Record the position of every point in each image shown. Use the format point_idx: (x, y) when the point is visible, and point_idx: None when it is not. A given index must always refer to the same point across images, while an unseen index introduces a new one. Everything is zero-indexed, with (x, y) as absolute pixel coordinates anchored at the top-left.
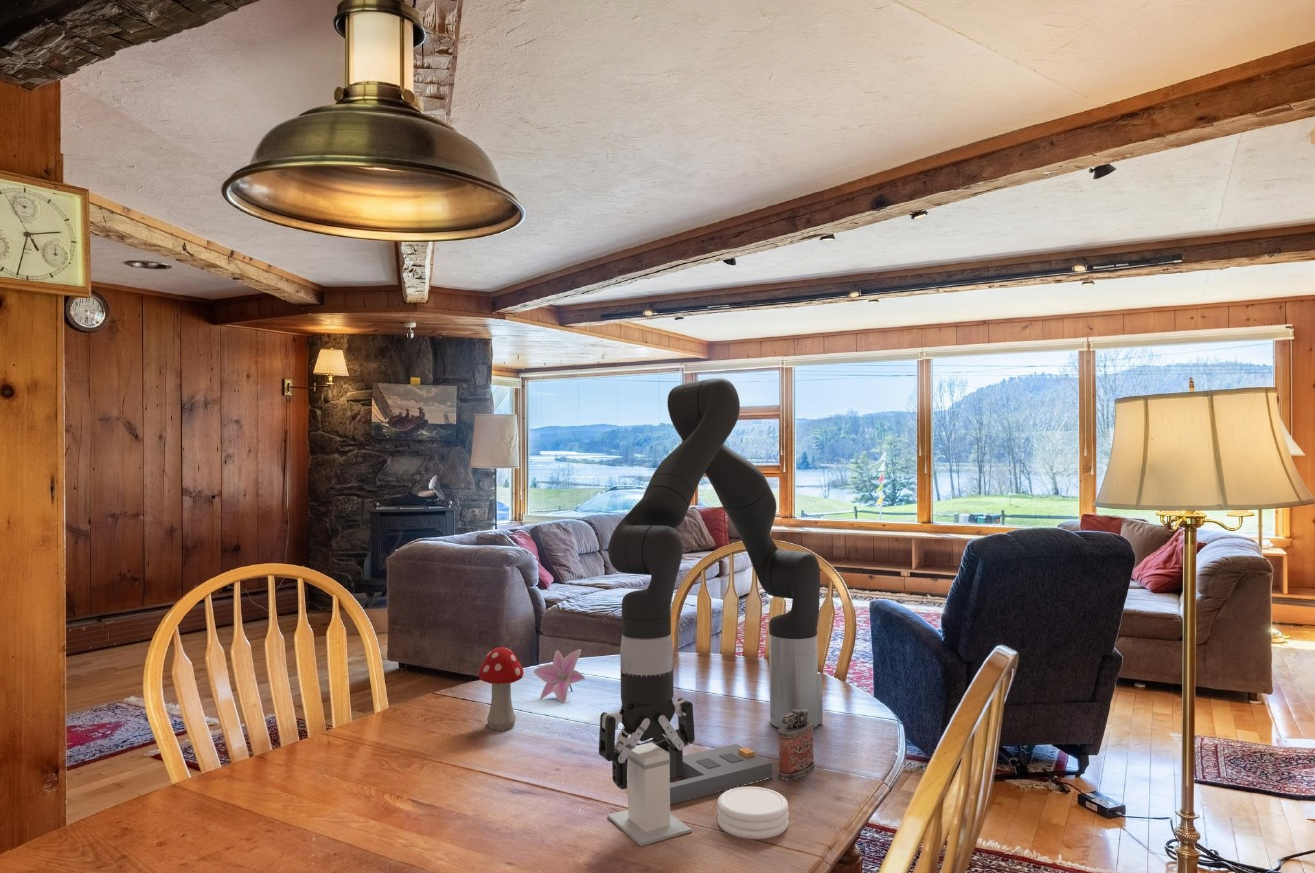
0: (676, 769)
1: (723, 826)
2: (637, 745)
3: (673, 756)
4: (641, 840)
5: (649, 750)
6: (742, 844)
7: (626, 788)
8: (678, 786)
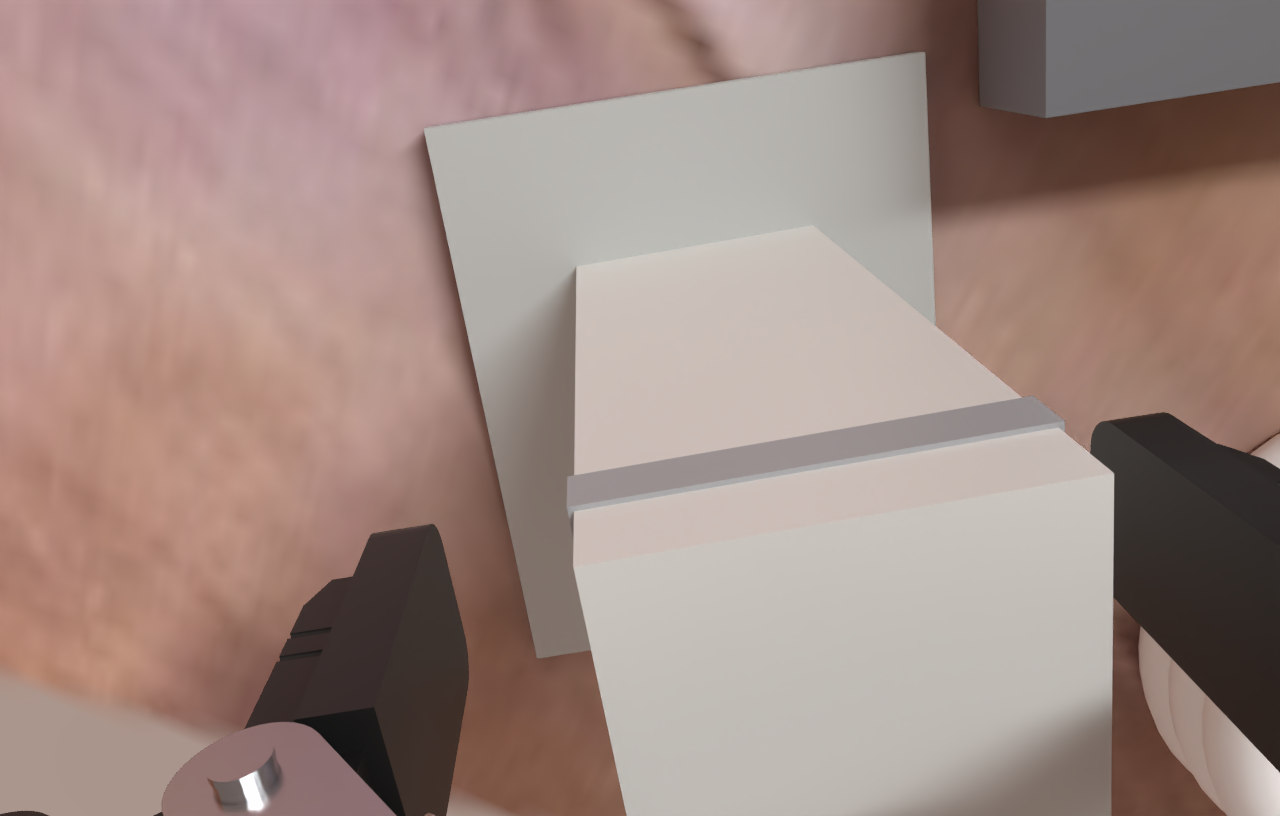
0: (1141, 619)
1: (1150, 653)
2: (794, 534)
3: (1225, 653)
4: (556, 625)
5: (885, 801)
6: (1125, 811)
7: (465, 657)
8: (1206, 90)
